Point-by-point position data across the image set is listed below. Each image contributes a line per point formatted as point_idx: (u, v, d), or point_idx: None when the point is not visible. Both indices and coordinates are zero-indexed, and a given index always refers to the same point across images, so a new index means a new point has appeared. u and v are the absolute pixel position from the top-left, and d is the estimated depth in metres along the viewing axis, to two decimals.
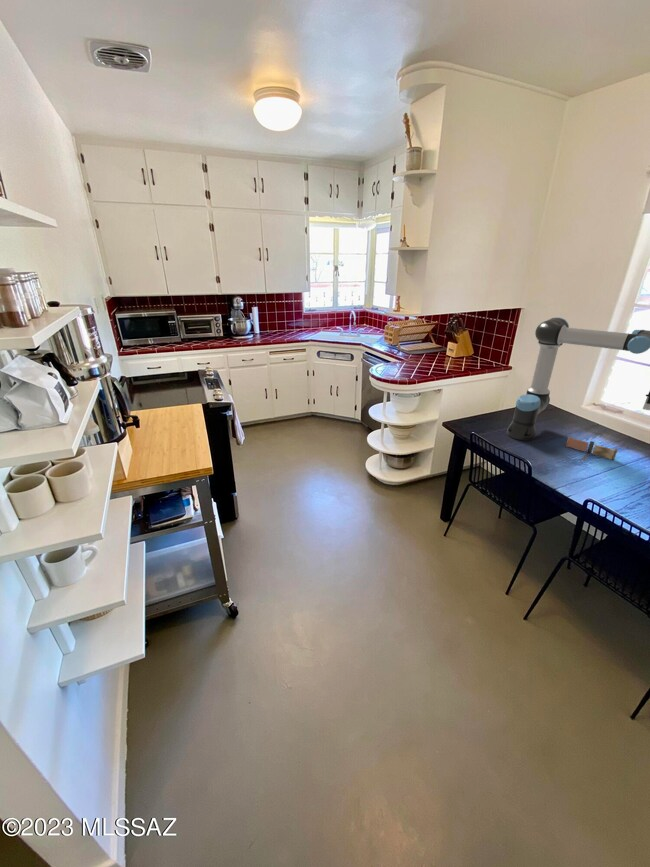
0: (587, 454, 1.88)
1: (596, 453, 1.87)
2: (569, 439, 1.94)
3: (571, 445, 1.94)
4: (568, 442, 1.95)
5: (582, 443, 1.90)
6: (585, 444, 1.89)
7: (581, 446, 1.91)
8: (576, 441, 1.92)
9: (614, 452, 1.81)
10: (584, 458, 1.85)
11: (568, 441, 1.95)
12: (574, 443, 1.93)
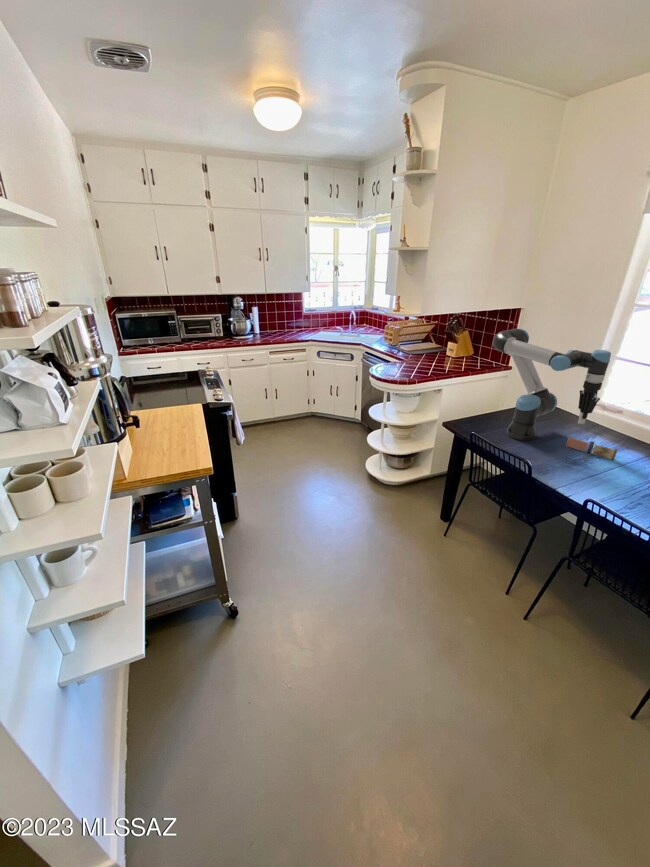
0: (587, 454, 1.88)
1: (596, 453, 1.87)
2: (569, 439, 1.94)
3: (571, 445, 1.94)
4: (568, 442, 1.95)
5: (582, 443, 1.90)
6: (585, 444, 1.89)
7: (581, 446, 1.91)
8: (576, 441, 1.92)
9: (614, 452, 1.81)
10: (584, 458, 1.85)
11: (568, 441, 1.95)
12: (574, 443, 1.93)
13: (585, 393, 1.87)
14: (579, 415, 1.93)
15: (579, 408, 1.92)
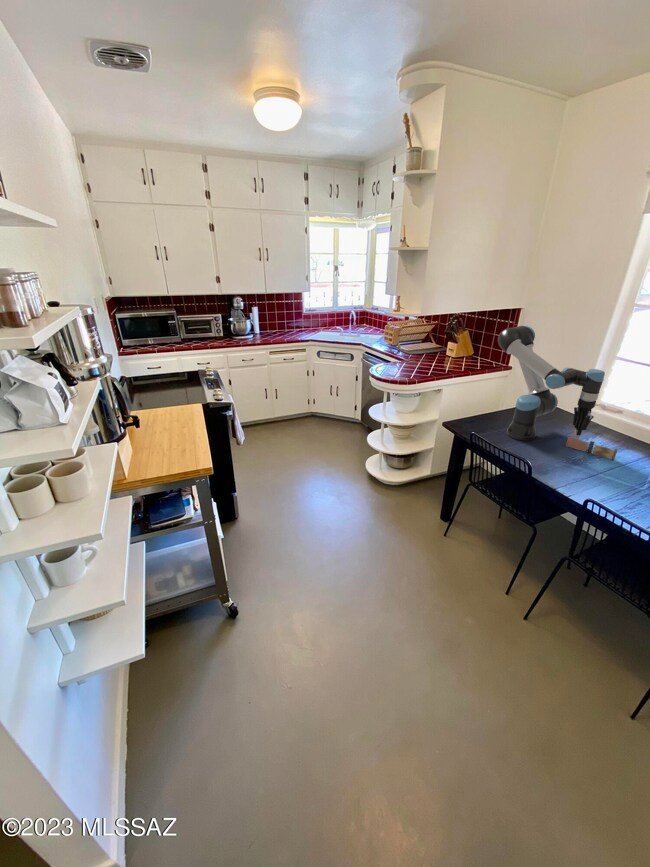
0: (587, 454, 1.88)
1: (596, 453, 1.87)
2: (569, 439, 1.94)
3: (571, 445, 1.94)
4: (568, 442, 1.95)
5: (582, 443, 1.90)
6: (585, 444, 1.89)
7: (581, 446, 1.91)
8: (576, 441, 1.92)
9: (614, 452, 1.81)
10: (584, 458, 1.85)
11: (568, 441, 1.95)
12: (574, 443, 1.93)
13: (579, 410, 1.91)
14: None
15: (573, 424, 1.97)
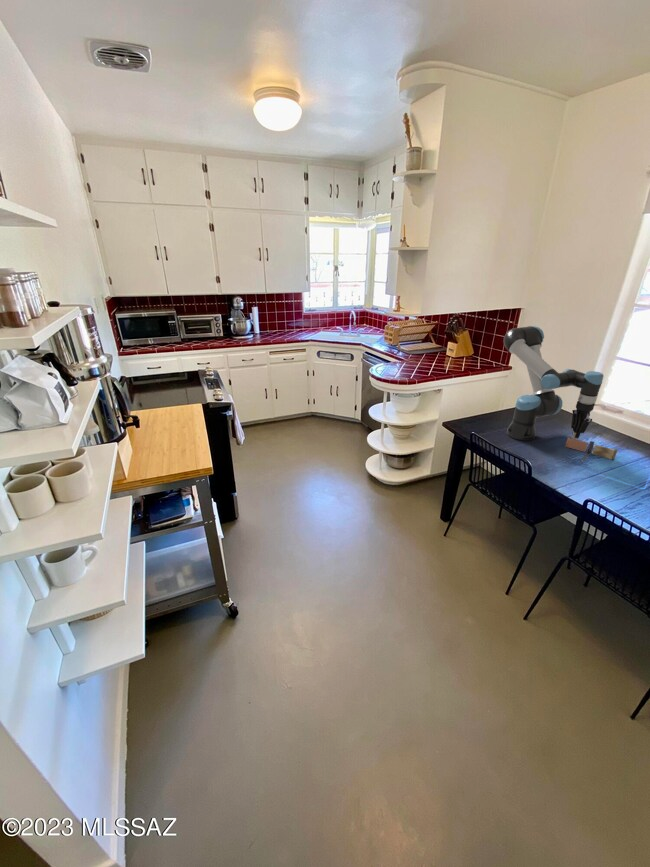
0: (587, 454, 1.88)
1: (596, 453, 1.87)
2: (569, 440, 1.93)
3: (571, 446, 1.94)
4: (568, 443, 1.94)
5: (582, 443, 1.90)
6: (585, 444, 1.89)
7: (581, 446, 1.91)
8: (576, 441, 1.92)
9: (614, 452, 1.81)
10: (584, 458, 1.85)
11: (568, 442, 1.94)
12: (574, 443, 1.92)
13: (578, 413, 1.88)
14: (572, 434, 1.95)
15: (572, 427, 1.94)
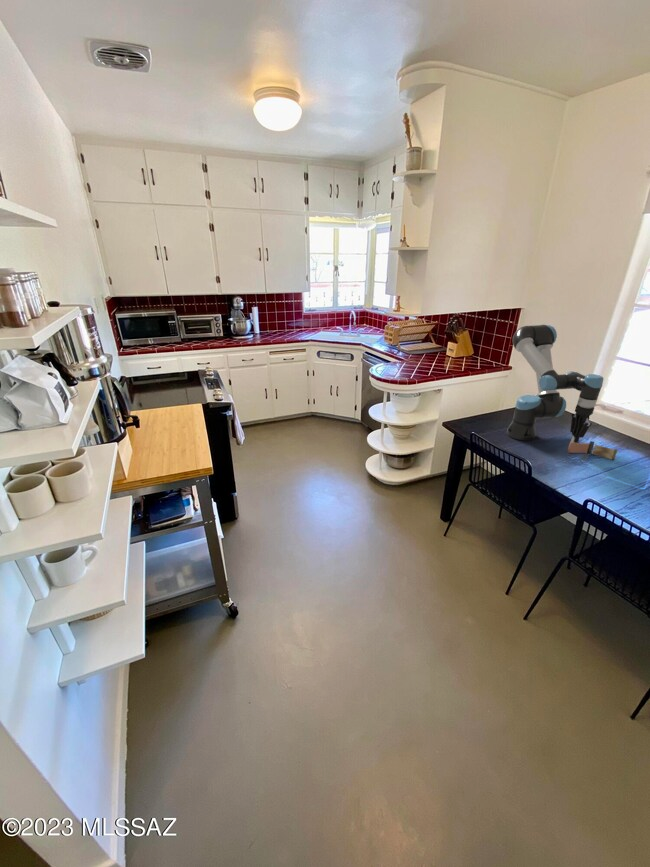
0: (587, 454, 1.88)
1: (596, 453, 1.87)
2: (571, 445, 1.88)
3: (573, 450, 1.89)
4: (570, 448, 1.89)
5: (584, 445, 1.88)
6: (586, 446, 1.88)
7: (582, 448, 1.89)
8: (578, 445, 1.88)
9: (614, 452, 1.81)
10: (584, 458, 1.85)
11: (570, 447, 1.89)
12: (576, 447, 1.89)
13: (577, 417, 1.84)
14: (571, 438, 1.90)
15: (571, 431, 1.89)
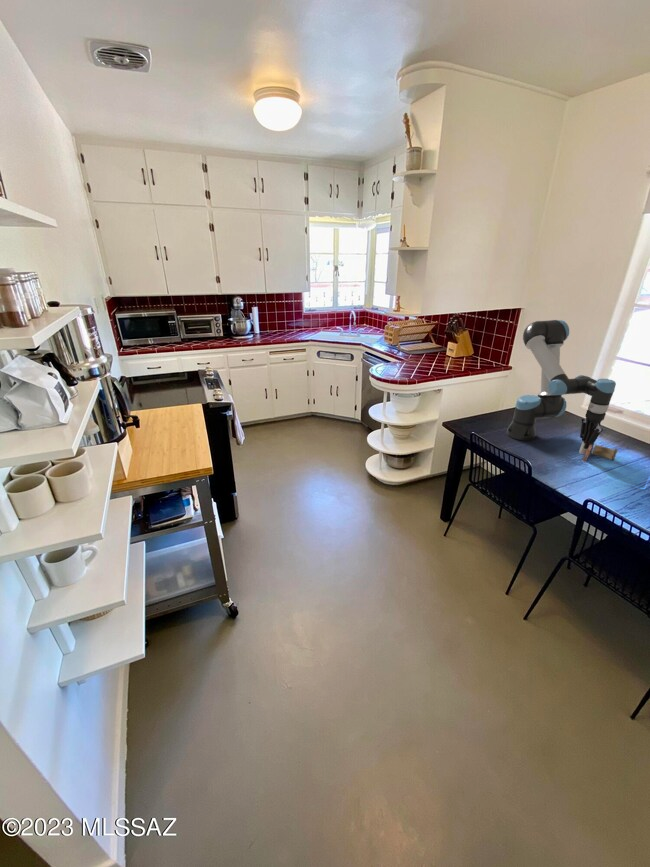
0: None
1: (596, 453, 1.87)
2: (588, 452, 1.81)
3: (587, 456, 1.84)
4: (587, 455, 1.82)
5: (591, 448, 1.85)
6: (591, 447, 1.86)
7: (590, 451, 1.86)
8: (590, 450, 1.83)
9: (614, 452, 1.81)
10: None
11: (588, 454, 1.81)
12: (589, 453, 1.83)
13: (587, 423, 1.78)
14: (581, 444, 1.85)
15: (581, 437, 1.84)
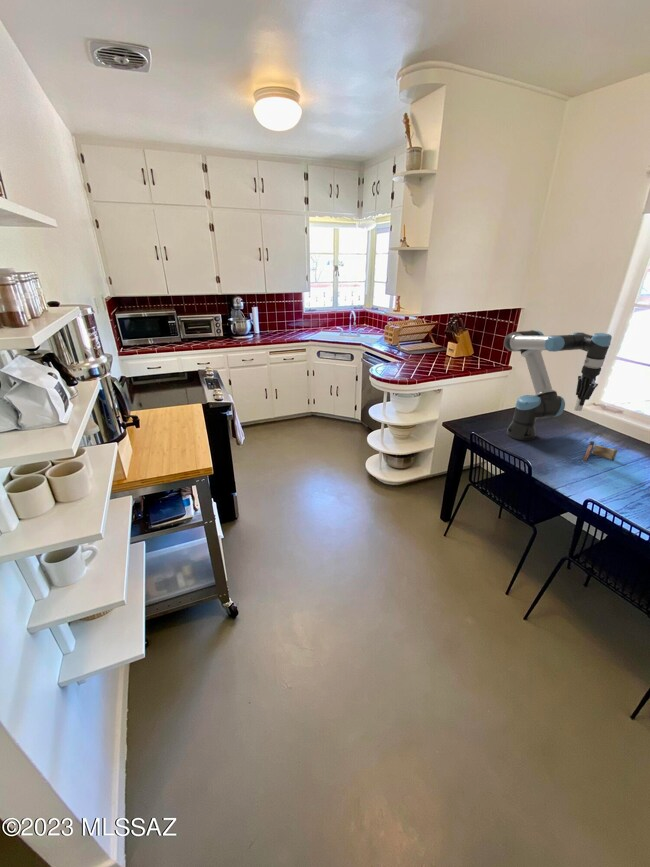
0: None
1: (596, 453, 1.87)
2: (589, 452, 1.81)
3: (587, 456, 1.83)
4: (587, 455, 1.82)
5: (591, 448, 1.85)
6: (591, 447, 1.86)
7: (590, 451, 1.86)
8: (590, 450, 1.83)
9: (614, 452, 1.81)
10: None
11: (588, 454, 1.81)
12: (589, 453, 1.83)
13: (583, 378, 1.79)
14: None
15: (576, 394, 1.85)
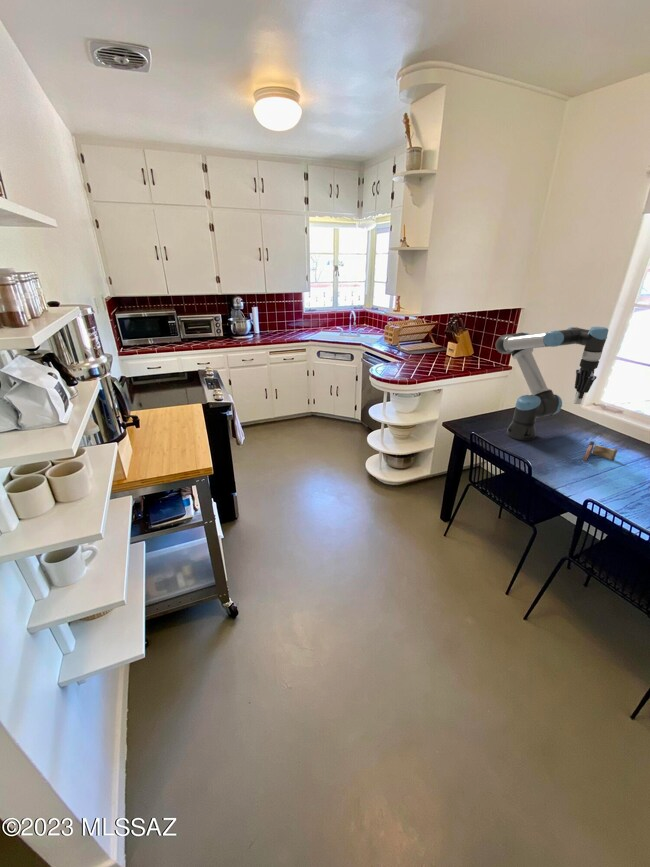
0: None
1: (596, 453, 1.87)
2: (589, 452, 1.81)
3: (587, 456, 1.83)
4: (587, 455, 1.82)
5: (591, 448, 1.85)
6: (591, 447, 1.86)
7: (590, 451, 1.86)
8: (590, 450, 1.83)
9: (614, 452, 1.81)
10: None
11: (588, 454, 1.81)
12: (589, 453, 1.83)
13: (581, 372, 1.82)
14: None
15: (575, 388, 1.88)
